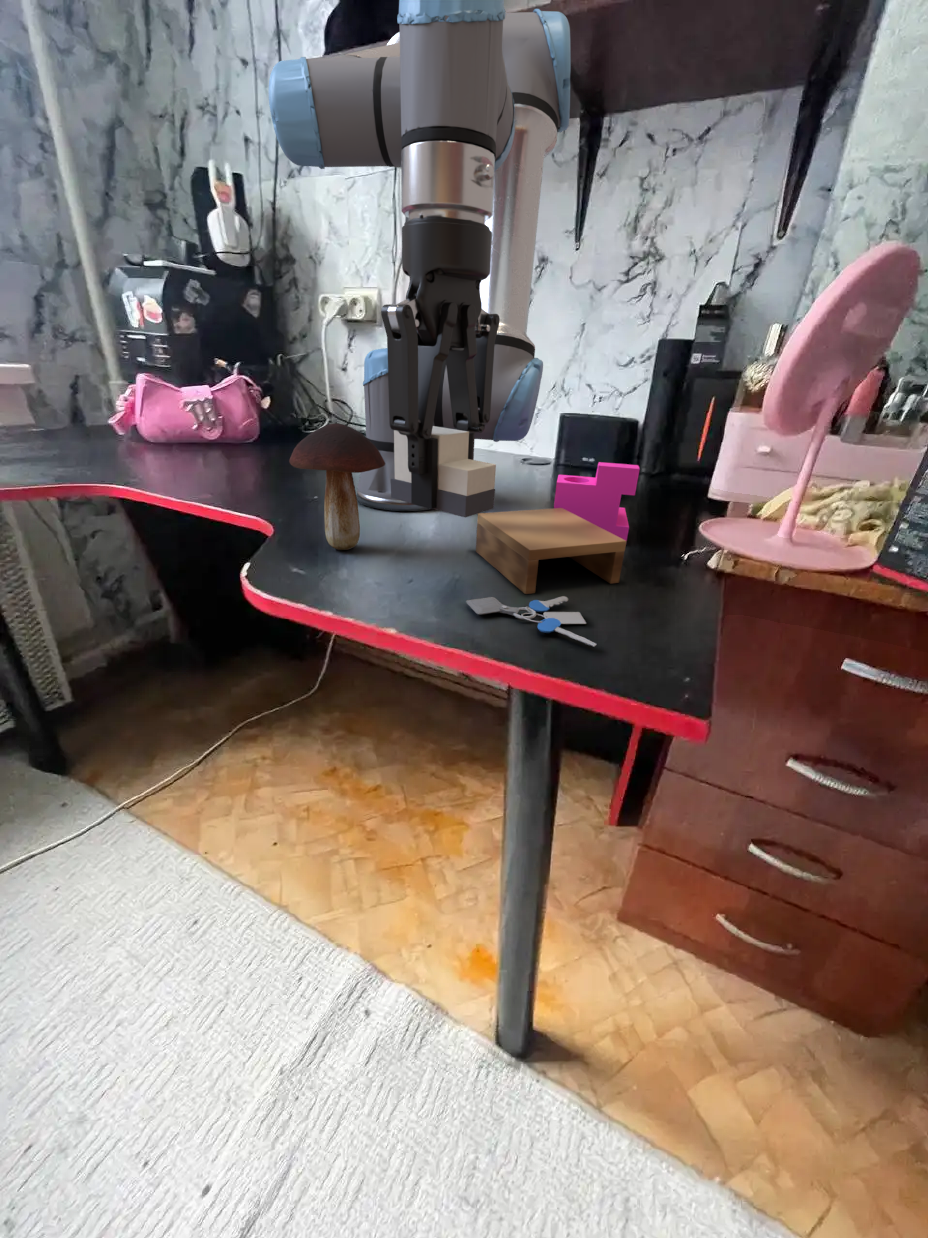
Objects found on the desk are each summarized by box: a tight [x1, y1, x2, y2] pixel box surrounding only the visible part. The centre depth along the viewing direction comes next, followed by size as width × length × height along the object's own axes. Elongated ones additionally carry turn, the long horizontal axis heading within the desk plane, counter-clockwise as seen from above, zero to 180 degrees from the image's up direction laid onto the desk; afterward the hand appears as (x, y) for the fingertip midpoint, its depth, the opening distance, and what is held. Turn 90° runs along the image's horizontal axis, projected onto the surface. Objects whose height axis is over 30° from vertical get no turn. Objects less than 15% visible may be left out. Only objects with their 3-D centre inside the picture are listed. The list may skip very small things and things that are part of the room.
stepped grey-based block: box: [391, 426, 497, 518], centre depth 54 cm, size 10×5×7 cm, turn 51°
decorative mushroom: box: [288, 422, 385, 551], centre depth 65 cm, size 11×11×15 cm
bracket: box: [553, 461, 641, 542], centre depth 78 cm, size 12×10×10 cm
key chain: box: [465, 595, 597, 648], centre depth 53 cm, size 14×8×1 cm, turn 60°
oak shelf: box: [475, 507, 627, 595], centre depth 65 cm, size 14×12×5 cm
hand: (441, 500), depth 56 cm, fingers closed on stepped grey-based block, 5 cm apart
